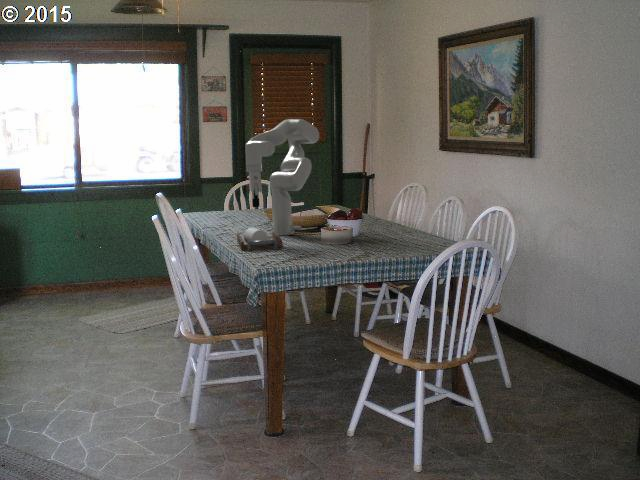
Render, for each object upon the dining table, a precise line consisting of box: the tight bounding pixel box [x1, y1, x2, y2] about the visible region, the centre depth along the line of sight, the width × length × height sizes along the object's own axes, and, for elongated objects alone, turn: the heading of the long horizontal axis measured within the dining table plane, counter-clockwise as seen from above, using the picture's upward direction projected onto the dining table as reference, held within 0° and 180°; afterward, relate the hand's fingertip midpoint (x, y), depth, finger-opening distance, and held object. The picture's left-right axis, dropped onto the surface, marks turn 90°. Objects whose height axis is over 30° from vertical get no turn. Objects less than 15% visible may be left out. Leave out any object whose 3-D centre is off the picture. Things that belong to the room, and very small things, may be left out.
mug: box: [243, 227, 273, 244], centre depth 358 cm, size 12×10×8 cm
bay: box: [236, 230, 283, 252], centre depth 358 cm, size 18×30×4 cm, turn 10°
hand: (256, 206), depth 370 cm, fingers closed
